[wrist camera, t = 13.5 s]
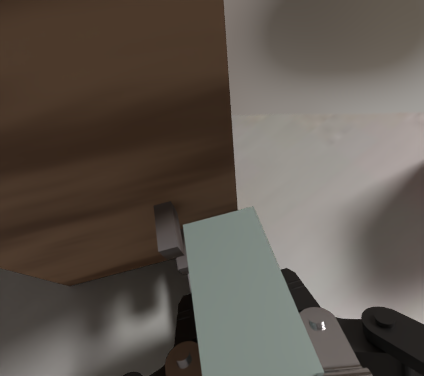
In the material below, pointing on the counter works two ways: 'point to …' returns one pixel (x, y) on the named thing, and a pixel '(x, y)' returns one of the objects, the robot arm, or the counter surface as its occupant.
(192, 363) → the robot arm
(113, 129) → the wooden cabinet
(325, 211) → the counter surface
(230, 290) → the gray-green rectangular block
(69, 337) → the counter surface
